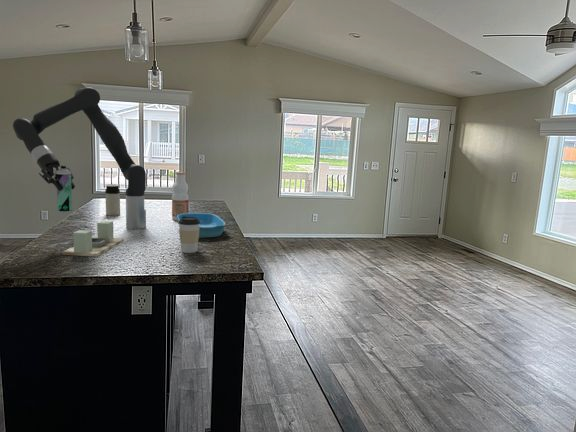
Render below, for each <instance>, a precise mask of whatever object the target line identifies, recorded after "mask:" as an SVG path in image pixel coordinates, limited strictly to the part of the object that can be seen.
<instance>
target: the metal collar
mask: <svg viewBox="0 0 576 432" xmlns="http://www.w3.org/2000/svg"><path fill="white" fill-rule="evenodd" d="M108 243H109V239H107V238H93V237H92V247H93V248H101V247H103V246H105V245H107V244H108Z"/></svg>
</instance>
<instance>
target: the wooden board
mask: <svg viewBox="0 0 576 432" xmlns="http://www.w3.org/2000/svg"><path fill="white" fill-rule="evenodd" d="M92 238H98V236H92ZM123 242H125V240H124V238H117V237H116V238H114V239H112V240H110V241H109V243H108V244H107V245H105V246H103V247H101V248H93V247H92V250H91V251H89V252H87V253H81V252H74V246H72V247H70V248H68V249H65V250H63V251H62V255H63V256H64V255H65V256H67V255H68V256H81V257H95V258H97V257H98V256H100V255H103V254H104V253H106V252H108V251H109V250H111V249H113V248H114V247H117V246H119V245H120V244H121V243H123ZM107 250H108V251H107Z"/></svg>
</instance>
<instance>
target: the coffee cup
mask: <svg viewBox="0 0 576 432" xmlns="http://www.w3.org/2000/svg"><path fill="white" fill-rule="evenodd" d="M178 224H179V229H178V232H179V242H180V252H182V253H184V254H193V253H197V252H198V247H199V246H198V243H199V239H200V238H199V225H200V221H199V220H198V219H197V218H196V217H185V216H183V217H182V218H181V220H179V222H178Z"/></svg>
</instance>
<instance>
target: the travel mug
mask: <svg viewBox="0 0 576 432" xmlns="http://www.w3.org/2000/svg"><path fill="white" fill-rule="evenodd" d="M119 187H120V184H114V183H112V184H111V183H109V184H105V188H106V189H105V215H107V216H111V217H115V216H120V215H121V190H120V189H119Z"/></svg>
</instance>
